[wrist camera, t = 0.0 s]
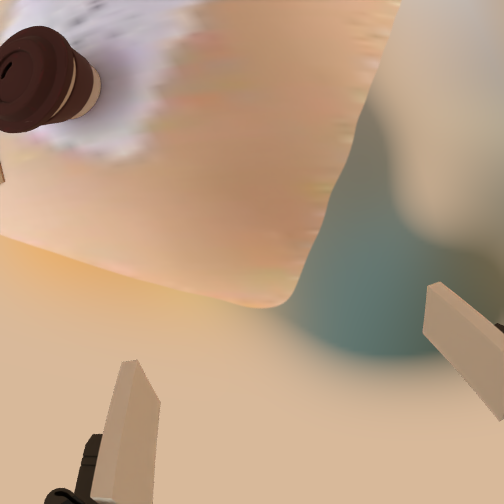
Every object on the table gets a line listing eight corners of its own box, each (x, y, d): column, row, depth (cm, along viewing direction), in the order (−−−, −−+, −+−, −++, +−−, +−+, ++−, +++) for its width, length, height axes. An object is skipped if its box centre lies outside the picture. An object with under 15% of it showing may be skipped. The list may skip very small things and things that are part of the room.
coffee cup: (121, 110, 33) (71, 99, 19) (53, 142, 33) (-17, 154, 19) (102, 40, 29) (51, 1, 15) (36, 75, 29) (-34, 60, 15)
